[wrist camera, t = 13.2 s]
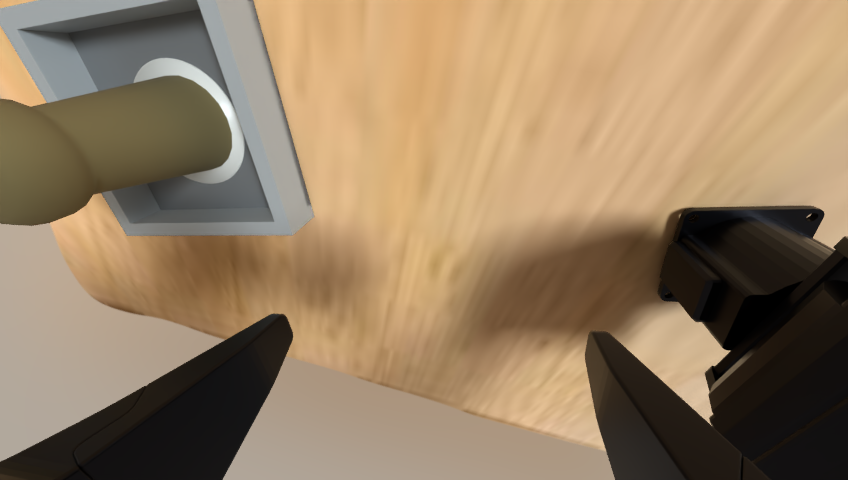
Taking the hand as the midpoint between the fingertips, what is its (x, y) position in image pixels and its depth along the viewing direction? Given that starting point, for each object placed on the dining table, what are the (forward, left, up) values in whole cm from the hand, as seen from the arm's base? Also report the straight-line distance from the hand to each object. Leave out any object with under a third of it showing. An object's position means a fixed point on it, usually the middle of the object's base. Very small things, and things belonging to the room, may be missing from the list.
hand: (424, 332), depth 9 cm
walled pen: (+18, -5, -13) cm, 23 cm away
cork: (+18, -5, -13) cm, 22 cm away
